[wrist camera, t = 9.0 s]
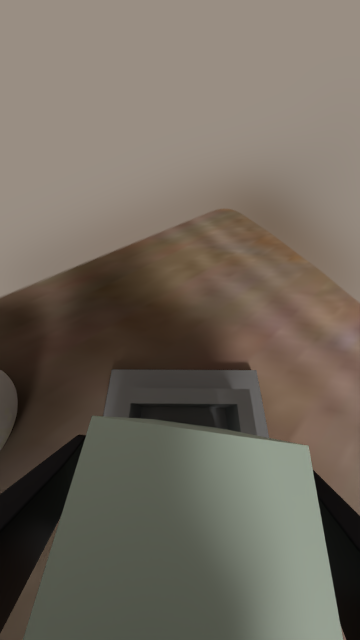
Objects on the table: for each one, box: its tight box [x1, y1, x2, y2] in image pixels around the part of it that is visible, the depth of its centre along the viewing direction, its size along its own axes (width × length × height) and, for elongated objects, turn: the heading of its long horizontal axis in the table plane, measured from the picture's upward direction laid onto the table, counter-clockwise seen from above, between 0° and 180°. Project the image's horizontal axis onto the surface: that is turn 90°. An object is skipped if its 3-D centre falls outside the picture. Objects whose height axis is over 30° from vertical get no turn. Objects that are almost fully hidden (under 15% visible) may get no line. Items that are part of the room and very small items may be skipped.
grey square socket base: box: [103, 369, 269, 438], centre depth 13 cm, size 14×14×5 cm
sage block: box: [23, 416, 343, 640], centre depth 9 cm, size 5×5×13 cm
